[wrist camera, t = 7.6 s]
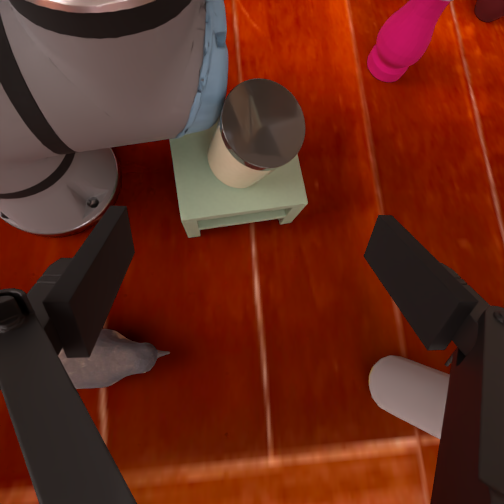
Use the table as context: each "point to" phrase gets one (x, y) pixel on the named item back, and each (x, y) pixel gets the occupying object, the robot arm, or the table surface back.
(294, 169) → the small table
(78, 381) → the decorative bird
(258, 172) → the jar
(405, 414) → the soap bottle
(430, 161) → the table surface
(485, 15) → the mug
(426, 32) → the pepper mill
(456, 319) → the robot arm
